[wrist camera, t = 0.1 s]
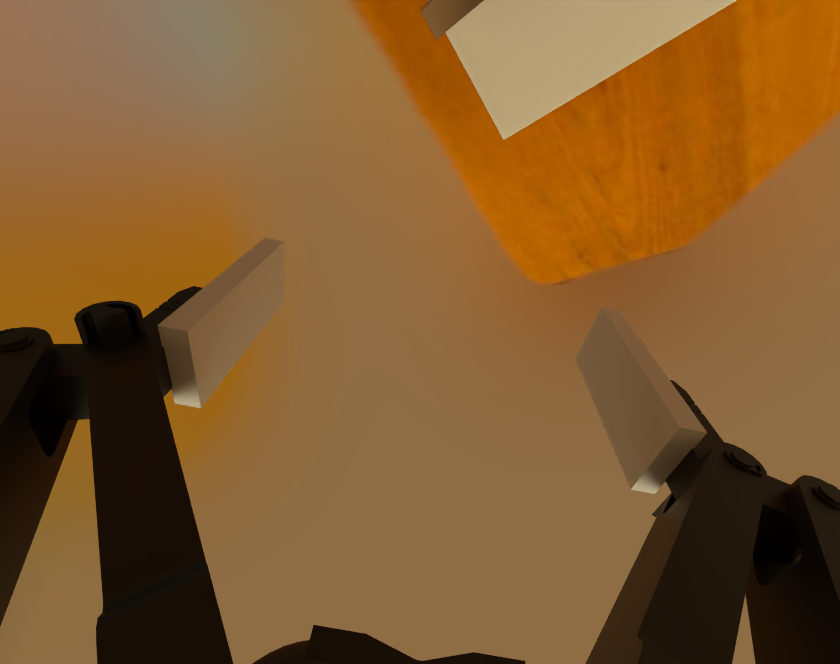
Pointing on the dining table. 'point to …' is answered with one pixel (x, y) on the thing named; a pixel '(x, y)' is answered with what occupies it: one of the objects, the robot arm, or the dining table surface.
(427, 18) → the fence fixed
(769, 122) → the dining table surface
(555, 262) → the dining table surface
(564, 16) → the card
